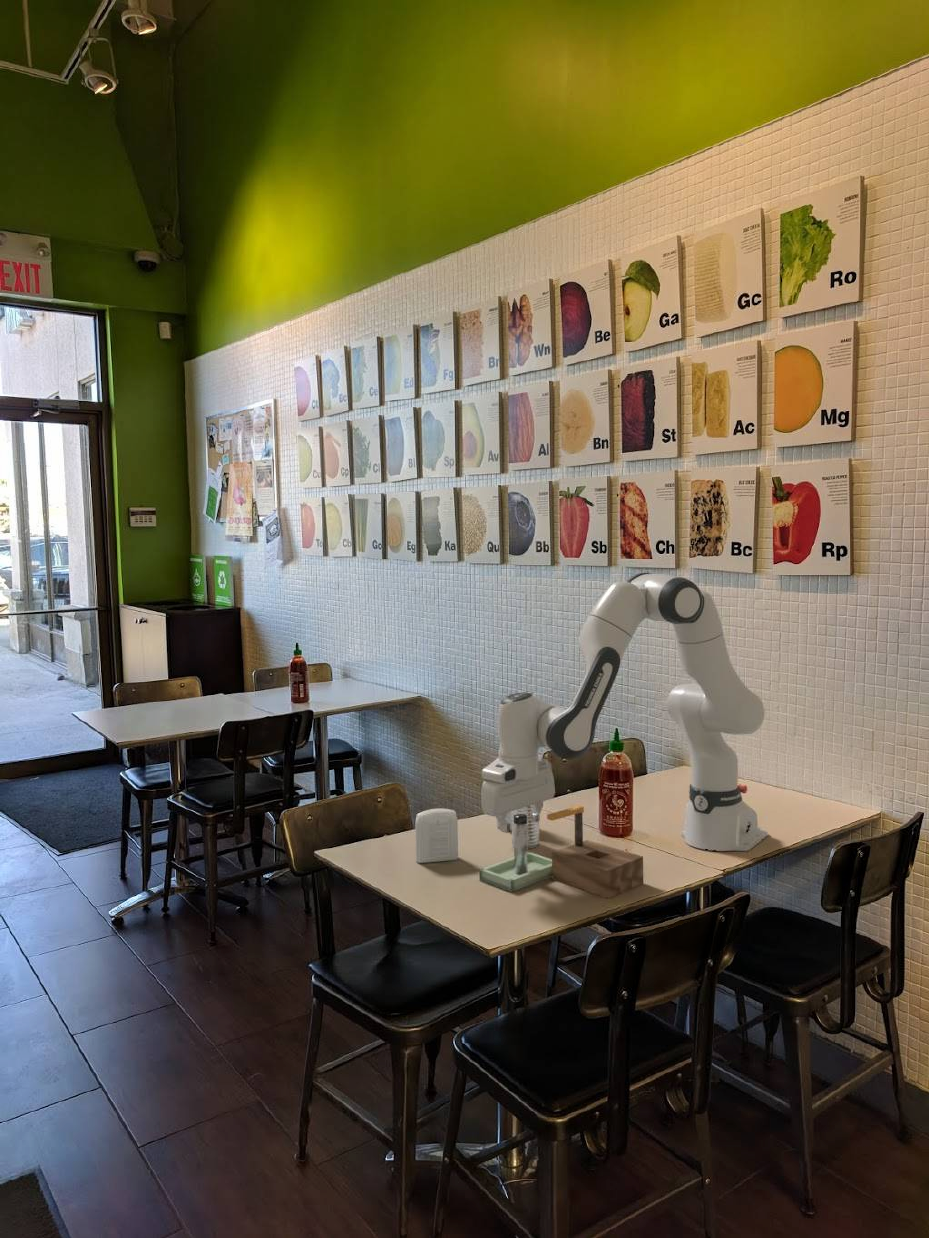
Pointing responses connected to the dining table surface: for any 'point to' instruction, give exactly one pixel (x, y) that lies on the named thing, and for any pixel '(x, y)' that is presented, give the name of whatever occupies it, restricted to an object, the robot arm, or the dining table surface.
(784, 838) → the dining table surface
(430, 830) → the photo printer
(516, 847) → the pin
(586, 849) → the block
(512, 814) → the water bottle
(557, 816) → the bar
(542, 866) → the tray
